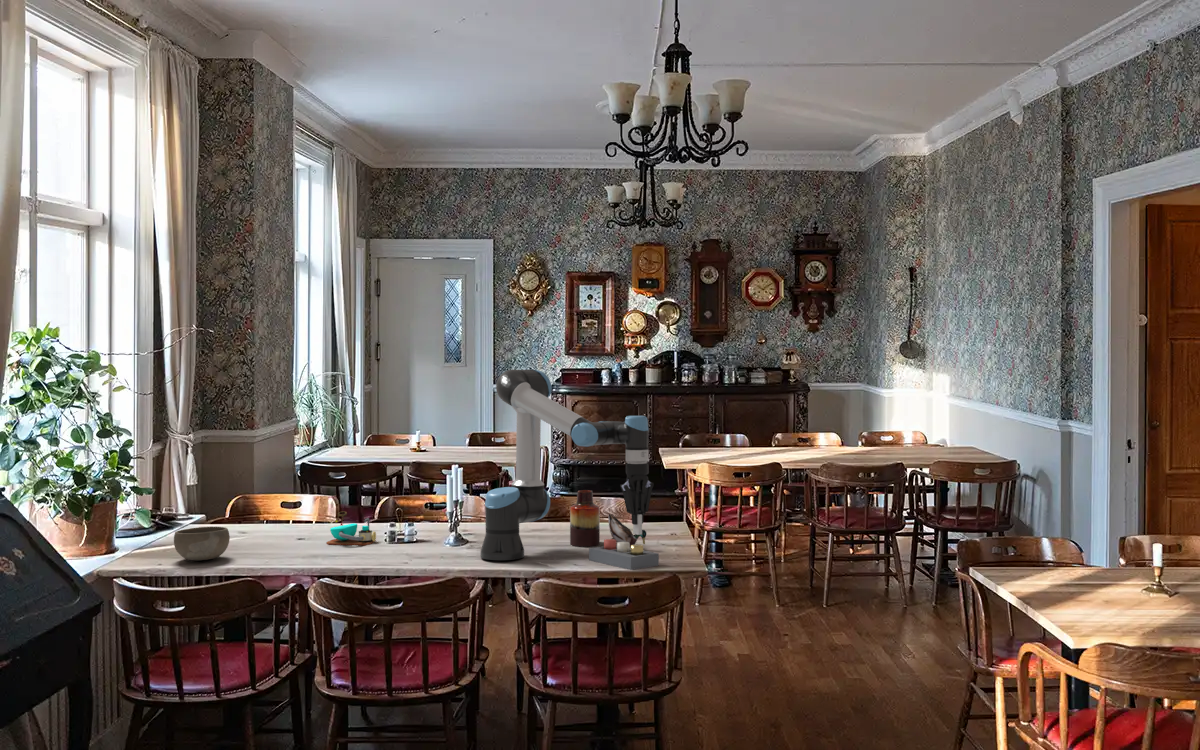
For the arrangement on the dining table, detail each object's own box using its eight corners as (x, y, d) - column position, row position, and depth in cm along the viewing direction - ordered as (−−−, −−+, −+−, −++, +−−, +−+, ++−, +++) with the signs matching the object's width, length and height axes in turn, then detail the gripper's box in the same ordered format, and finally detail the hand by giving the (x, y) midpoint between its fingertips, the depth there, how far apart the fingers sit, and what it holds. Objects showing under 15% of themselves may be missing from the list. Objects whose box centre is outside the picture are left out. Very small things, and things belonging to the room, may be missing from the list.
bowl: (170, 556, 353) (170, 527, 353) (224, 552, 362) (225, 524, 362) (177, 564, 338) (177, 534, 338) (233, 560, 347) (233, 530, 347)
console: (630, 569, 330) (630, 557, 330) (589, 560, 347) (589, 548, 347) (658, 565, 337) (658, 553, 337) (616, 556, 355) (616, 544, 355)
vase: (605, 546, 375) (605, 491, 375) (584, 549, 368) (584, 493, 368) (585, 543, 383) (585, 488, 383) (564, 546, 375) (564, 490, 375)
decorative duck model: (654, 540, 366) (638, 501, 369) (644, 543, 359) (629, 503, 363) (621, 554, 373) (606, 516, 376) (611, 557, 366) (595, 518, 369)
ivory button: (622, 554, 339) (622, 544, 339) (614, 553, 343) (614, 542, 343) (632, 553, 342) (632, 542, 342) (624, 551, 345) (624, 541, 345)
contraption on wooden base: (367, 549, 370) (367, 507, 370) (319, 548, 372) (319, 506, 372) (379, 542, 384) (379, 502, 384) (333, 541, 386) (333, 501, 386)
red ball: (609, 551, 345) (609, 541, 345) (601, 550, 348) (601, 539, 348) (618, 550, 347) (618, 540, 347) (611, 548, 351) (611, 538, 351)
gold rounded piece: (636, 557, 334) (636, 547, 334) (627, 555, 337) (627, 545, 337) (645, 556, 337) (645, 545, 337) (637, 554, 340) (637, 544, 340)
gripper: (629, 464, 330) (629, 537, 330) (659, 462, 338) (660, 533, 338) (614, 463, 336) (615, 534, 336) (644, 460, 344) (645, 531, 344)
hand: (637, 534), depth 337 cm, fingers closed
